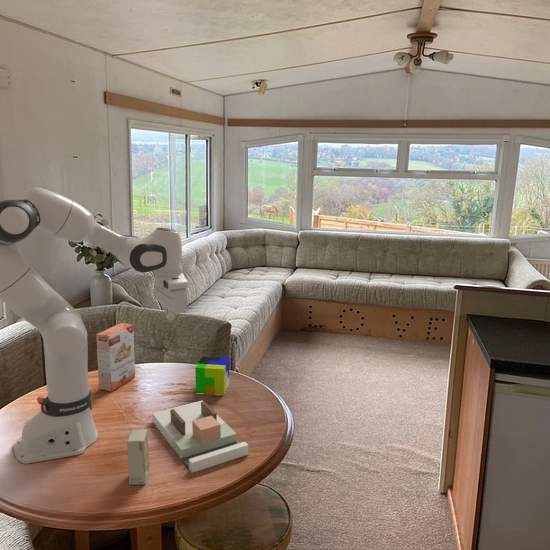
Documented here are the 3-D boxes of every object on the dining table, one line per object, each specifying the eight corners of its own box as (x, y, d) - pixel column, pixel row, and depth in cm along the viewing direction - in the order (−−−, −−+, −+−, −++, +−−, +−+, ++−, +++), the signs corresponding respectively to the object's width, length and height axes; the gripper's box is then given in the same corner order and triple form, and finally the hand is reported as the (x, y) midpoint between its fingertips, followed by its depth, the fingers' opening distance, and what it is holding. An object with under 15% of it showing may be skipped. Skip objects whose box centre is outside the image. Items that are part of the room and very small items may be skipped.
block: (201, 444, 146) (201, 430, 145) (192, 435, 151) (192, 420, 150) (220, 438, 149) (220, 424, 148) (211, 429, 154) (211, 415, 153)
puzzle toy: (229, 383, 192) (229, 358, 189) (224, 395, 182) (223, 369, 180) (202, 381, 192) (202, 356, 190) (195, 394, 183) (195, 367, 180)
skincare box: (146, 485, 133) (144, 441, 130) (128, 485, 132) (126, 442, 130) (149, 470, 139) (148, 428, 136) (133, 470, 139) (131, 428, 136)
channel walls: (182, 435, 150) (181, 422, 149) (170, 421, 158) (170, 409, 157) (216, 425, 156) (216, 413, 155) (204, 412, 163) (204, 401, 163)
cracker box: (112, 392, 182) (109, 336, 178) (98, 389, 185) (94, 333, 180) (136, 377, 195) (134, 324, 190) (123, 374, 197) (120, 321, 193)
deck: (192, 472, 138) (191, 462, 137) (152, 421, 164) (152, 413, 163) (248, 454, 147) (248, 444, 146) (202, 408, 172) (202, 400, 172)
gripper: (148, 272, 174) (150, 312, 177) (171, 286, 157) (172, 329, 161) (166, 270, 177) (167, 309, 181) (190, 283, 161) (191, 326, 164)
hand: (170, 319), depth 170 cm, fingers closed
